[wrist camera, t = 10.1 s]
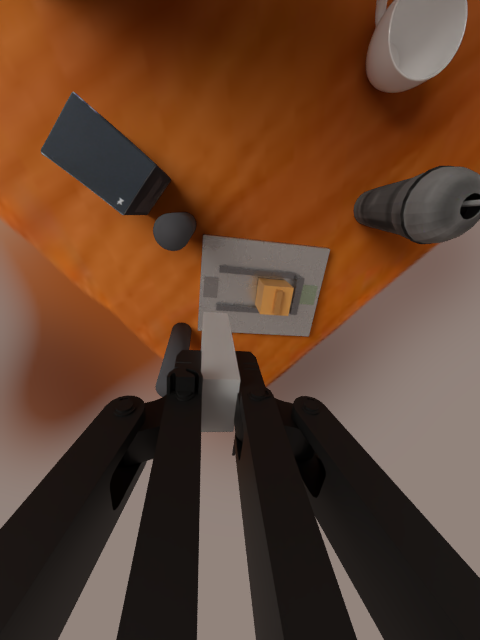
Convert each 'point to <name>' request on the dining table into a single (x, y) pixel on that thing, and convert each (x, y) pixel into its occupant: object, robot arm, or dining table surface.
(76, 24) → the dining table surface
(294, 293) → the breaker panel
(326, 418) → the robot arm
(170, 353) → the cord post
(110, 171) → the box
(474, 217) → the beverage cup
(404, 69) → the cup
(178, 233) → the cord post
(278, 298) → the block
